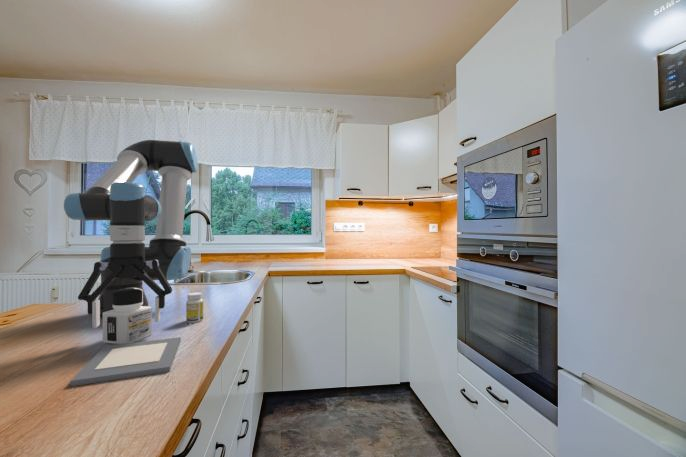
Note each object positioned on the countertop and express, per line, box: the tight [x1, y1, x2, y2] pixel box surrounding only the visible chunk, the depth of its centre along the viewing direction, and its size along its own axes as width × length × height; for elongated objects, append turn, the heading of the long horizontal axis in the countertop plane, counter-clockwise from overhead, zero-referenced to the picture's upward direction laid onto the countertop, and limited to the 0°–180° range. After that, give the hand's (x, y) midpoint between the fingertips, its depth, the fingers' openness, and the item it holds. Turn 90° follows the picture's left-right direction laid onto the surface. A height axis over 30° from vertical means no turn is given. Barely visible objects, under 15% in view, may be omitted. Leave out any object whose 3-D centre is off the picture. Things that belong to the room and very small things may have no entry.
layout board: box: [70, 336, 181, 387], centre depth 68 cm, size 18×16×1 cm
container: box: [102, 288, 153, 345], centre depth 81 cm, size 8×8×13 cm
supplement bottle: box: [185, 291, 204, 324], centre depth 97 cm, size 5×5×8 cm
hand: (127, 323), depth 81 cm, fingers open, 13 cm apart
